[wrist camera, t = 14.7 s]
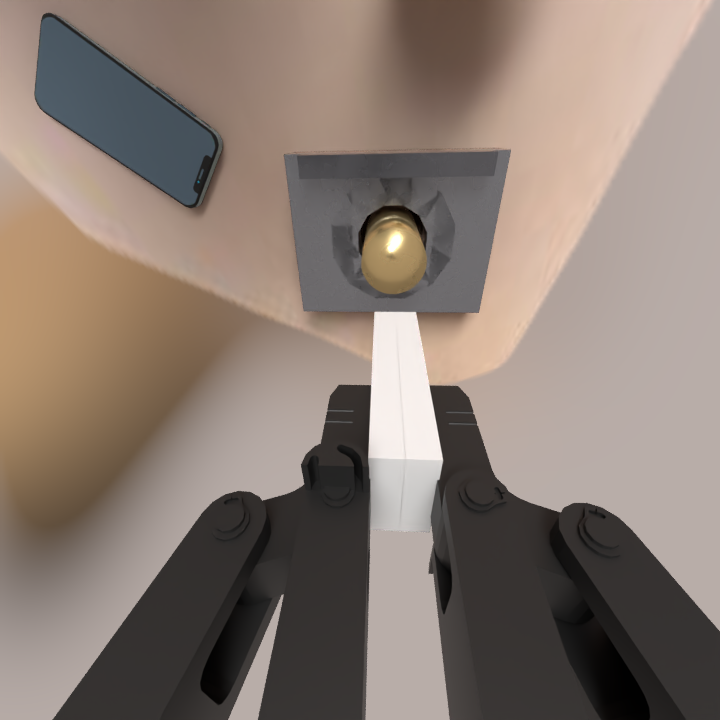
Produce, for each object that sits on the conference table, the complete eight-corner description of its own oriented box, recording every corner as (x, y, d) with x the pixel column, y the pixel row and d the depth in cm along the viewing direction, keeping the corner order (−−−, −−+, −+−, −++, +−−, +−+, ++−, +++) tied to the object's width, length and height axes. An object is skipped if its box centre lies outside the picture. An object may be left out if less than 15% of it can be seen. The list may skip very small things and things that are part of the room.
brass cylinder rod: (366, 255, 35) (361, 293, 27) (366, 204, 32) (360, 229, 24) (413, 255, 35) (423, 294, 27) (418, 204, 32) (430, 229, 24)
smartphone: (39, 2, 25) (221, 137, 29) (57, 10, 27) (229, 137, 30) (29, 105, 29) (193, 213, 33) (47, 107, 30) (201, 210, 34)
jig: (310, 296, 38) (299, 320, 33) (294, 152, 30) (277, 155, 25) (470, 296, 37) (483, 321, 32) (496, 147, 29) (519, 151, 24)
